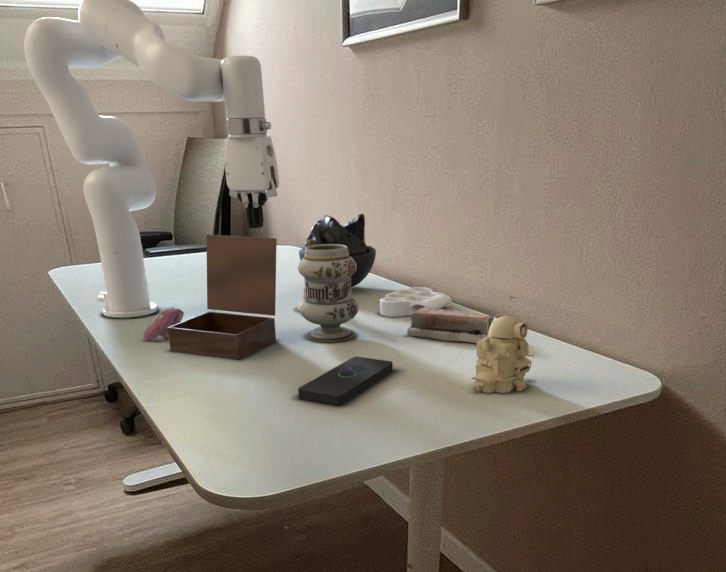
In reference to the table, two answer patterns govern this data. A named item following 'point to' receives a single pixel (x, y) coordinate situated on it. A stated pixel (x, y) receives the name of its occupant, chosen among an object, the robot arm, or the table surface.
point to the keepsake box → (222, 334)
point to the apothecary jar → (328, 291)
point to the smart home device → (345, 380)
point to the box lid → (241, 274)
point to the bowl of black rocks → (345, 242)
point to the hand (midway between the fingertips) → (256, 227)
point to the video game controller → (163, 323)
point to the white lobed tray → (412, 301)
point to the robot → (503, 356)
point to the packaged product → (449, 325)
